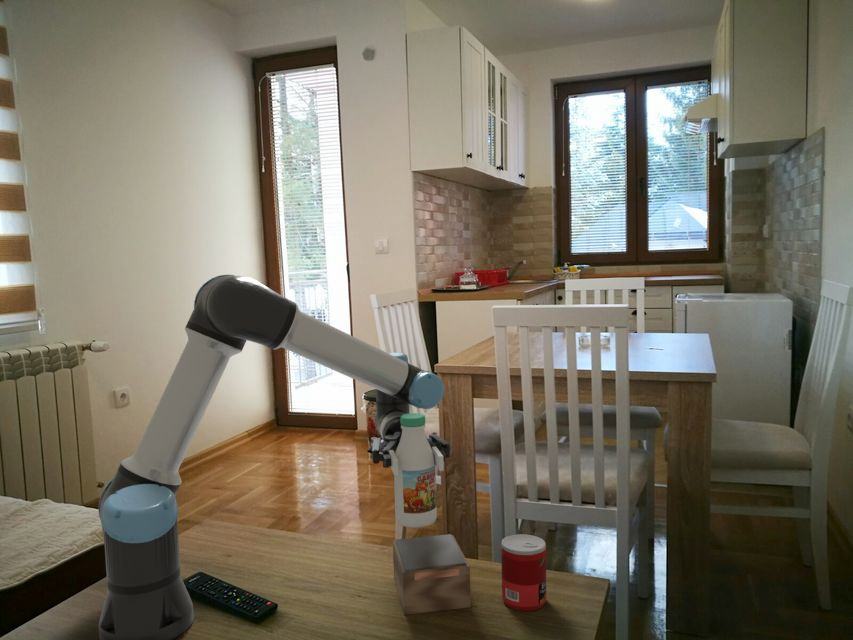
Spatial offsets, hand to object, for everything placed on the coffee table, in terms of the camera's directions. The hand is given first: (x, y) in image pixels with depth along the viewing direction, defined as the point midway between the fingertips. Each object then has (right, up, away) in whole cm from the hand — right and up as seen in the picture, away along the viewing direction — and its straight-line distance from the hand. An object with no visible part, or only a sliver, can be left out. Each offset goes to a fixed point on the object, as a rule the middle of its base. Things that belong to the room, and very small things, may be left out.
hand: (418, 465), depth 119 cm
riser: (+2, -25, +7) cm, 26 cm away
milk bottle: (-1, -12, +6) cm, 13 cm away
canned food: (+19, -25, +2) cm, 32 cm away
